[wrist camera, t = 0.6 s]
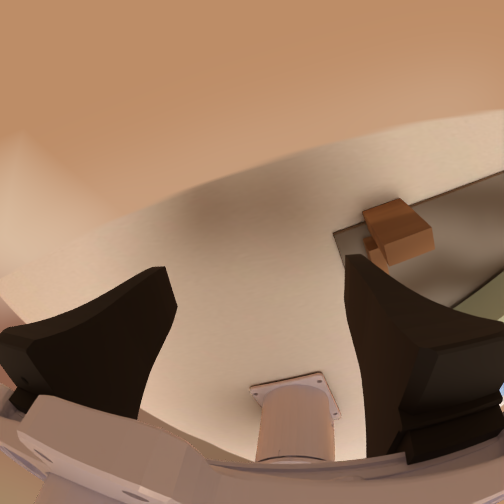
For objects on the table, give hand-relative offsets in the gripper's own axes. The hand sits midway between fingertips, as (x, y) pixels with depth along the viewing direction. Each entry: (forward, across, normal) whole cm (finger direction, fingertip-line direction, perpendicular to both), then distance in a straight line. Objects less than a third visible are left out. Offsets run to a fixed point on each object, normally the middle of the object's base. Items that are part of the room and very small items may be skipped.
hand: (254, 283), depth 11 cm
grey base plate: (+10, -14, +7) cm, 19 cm away
